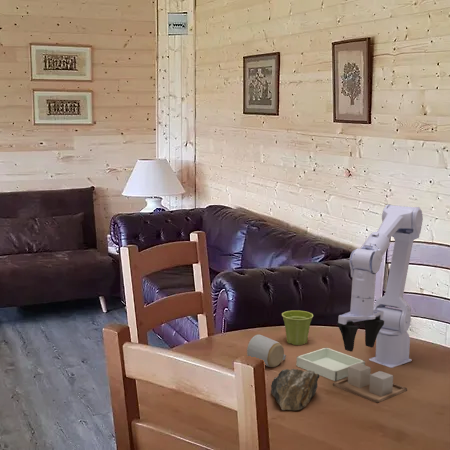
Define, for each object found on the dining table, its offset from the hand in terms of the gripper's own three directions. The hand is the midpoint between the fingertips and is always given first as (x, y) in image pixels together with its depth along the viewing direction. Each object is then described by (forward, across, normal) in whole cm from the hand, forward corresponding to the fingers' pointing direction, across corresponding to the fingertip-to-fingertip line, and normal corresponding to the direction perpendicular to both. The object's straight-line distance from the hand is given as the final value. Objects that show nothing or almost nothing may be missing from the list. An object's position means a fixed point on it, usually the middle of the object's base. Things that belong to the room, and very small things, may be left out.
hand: (359, 348), depth 180 cm
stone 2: (+10, +1, -7) cm, 12 cm away
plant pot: (+9, +10, +34) cm, 37 cm away
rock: (+12, -19, +4) cm, 23 cm away
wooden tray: (+10, +1, -4) cm, 11 cm away
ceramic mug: (+10, -8, +26) cm, 29 cm away
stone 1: (+9, +1, 0) cm, 9 cm away
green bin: (+9, +3, +12) cm, 16 cm away
